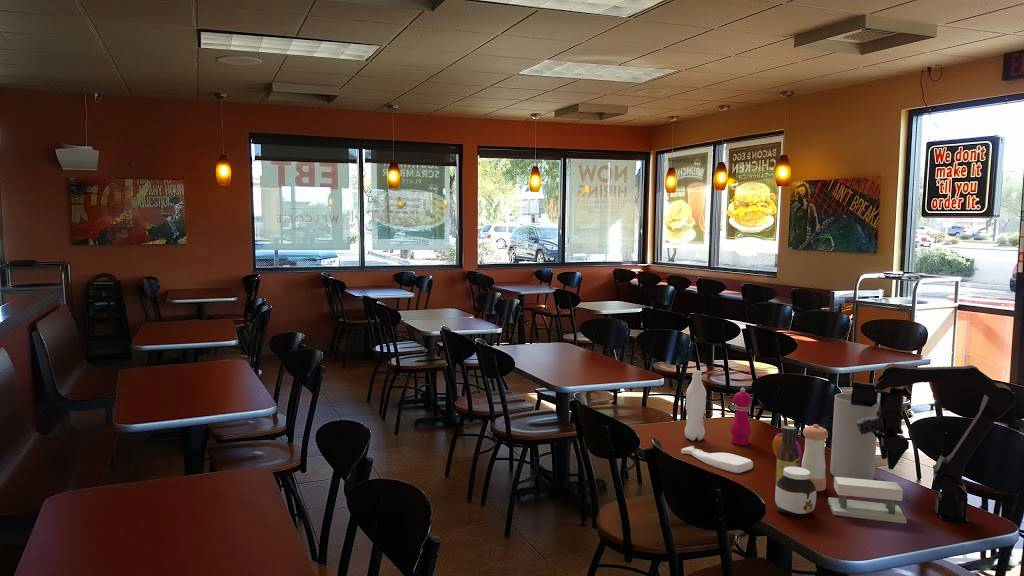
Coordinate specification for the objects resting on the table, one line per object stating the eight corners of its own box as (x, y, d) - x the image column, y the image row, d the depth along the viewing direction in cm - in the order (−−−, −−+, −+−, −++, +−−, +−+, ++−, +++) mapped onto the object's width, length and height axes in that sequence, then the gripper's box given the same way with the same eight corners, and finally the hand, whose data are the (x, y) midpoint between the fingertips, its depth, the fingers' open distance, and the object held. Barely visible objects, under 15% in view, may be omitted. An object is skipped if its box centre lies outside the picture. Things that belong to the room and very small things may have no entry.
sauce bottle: (799, 499, 210) (803, 431, 208) (776, 497, 211) (780, 430, 209) (795, 491, 216) (799, 425, 214) (773, 489, 217) (776, 423, 215)
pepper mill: (725, 440, 265) (728, 386, 263) (742, 438, 267) (745, 384, 265) (737, 446, 258) (740, 390, 256) (755, 444, 260) (757, 389, 258)
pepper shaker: (801, 480, 225) (805, 419, 223) (827, 485, 221) (830, 423, 219) (797, 487, 219) (800, 425, 217) (823, 493, 215) (827, 429, 213)
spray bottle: (736, 475, 229) (674, 456, 249) (756, 468, 236) (694, 450, 255) (736, 466, 229) (674, 447, 248) (756, 459, 236) (694, 441, 255)
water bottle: (707, 438, 267) (710, 370, 265) (700, 442, 261) (703, 374, 259) (688, 434, 271) (690, 368, 269) (681, 439, 265) (684, 371, 263)
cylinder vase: (851, 467, 238) (856, 392, 235) (883, 480, 226) (888, 401, 223) (821, 471, 233) (825, 394, 231) (851, 485, 222) (856, 404, 219)
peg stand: (897, 509, 203) (899, 491, 203) (906, 523, 194) (907, 504, 193) (827, 501, 208) (829, 483, 208) (832, 514, 199) (834, 496, 198)
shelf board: (895, 492, 202) (896, 482, 201) (902, 500, 196) (902, 490, 196) (833, 486, 205) (834, 476, 205) (837, 494, 200) (838, 484, 199)
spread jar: (787, 519, 196) (790, 477, 194) (762, 503, 206) (764, 463, 205) (825, 514, 199) (828, 473, 198) (798, 499, 210) (800, 459, 209)
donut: (794, 459, 245) (795, 430, 244) (802, 468, 236) (804, 438, 235) (770, 458, 246) (771, 429, 245) (777, 467, 236) (778, 437, 235)
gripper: (853, 399, 215) (850, 450, 216) (865, 415, 197) (861, 471, 198) (895, 402, 212) (892, 455, 213) (911, 419, 194) (907, 476, 195)
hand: (887, 463), depth 205 cm, fingers open, 9 cm apart
